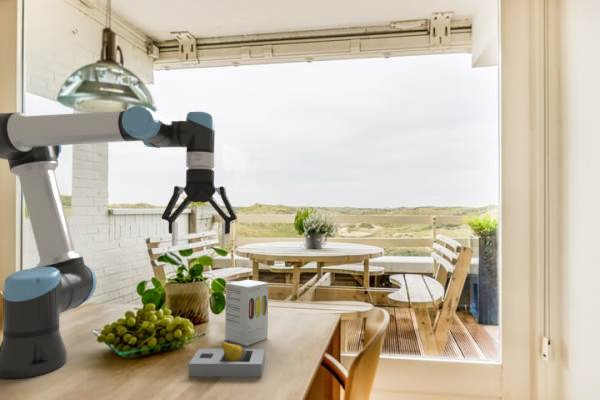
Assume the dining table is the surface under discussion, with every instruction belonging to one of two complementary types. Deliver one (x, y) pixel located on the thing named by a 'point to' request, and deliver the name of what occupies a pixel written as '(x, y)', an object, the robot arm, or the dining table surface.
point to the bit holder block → (226, 364)
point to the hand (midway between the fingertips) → (199, 246)
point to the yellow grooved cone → (233, 352)
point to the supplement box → (246, 312)
